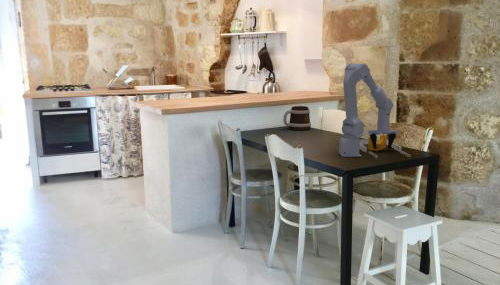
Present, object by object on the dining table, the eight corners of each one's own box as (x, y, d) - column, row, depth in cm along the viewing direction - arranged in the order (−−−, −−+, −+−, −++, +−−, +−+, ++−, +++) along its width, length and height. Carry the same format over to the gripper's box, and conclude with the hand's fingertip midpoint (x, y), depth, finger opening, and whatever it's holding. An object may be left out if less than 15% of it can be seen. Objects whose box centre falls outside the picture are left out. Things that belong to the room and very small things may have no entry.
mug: (303, 126, 298) (303, 105, 296) (315, 130, 285) (316, 107, 282) (277, 128, 290) (278, 106, 287) (289, 132, 277) (289, 108, 274)
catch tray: (365, 152, 218) (365, 147, 217) (352, 144, 238) (353, 139, 238) (401, 151, 219) (401, 146, 218) (385, 143, 239) (386, 139, 239)
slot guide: (375, 158, 205) (375, 155, 205) (368, 153, 215) (368, 151, 215) (410, 157, 206) (410, 155, 206) (401, 153, 216) (402, 150, 216)
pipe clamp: (375, 150, 221) (375, 138, 220) (368, 149, 224) (368, 137, 223) (388, 147, 228) (389, 135, 227) (381, 146, 232) (382, 134, 230)
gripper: (372, 123, 213) (370, 150, 216) (400, 123, 214) (399, 149, 216) (367, 121, 220) (365, 147, 222) (395, 121, 221) (393, 147, 223)
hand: (381, 148), depth 220 cm, fingers open, 7 cm apart
